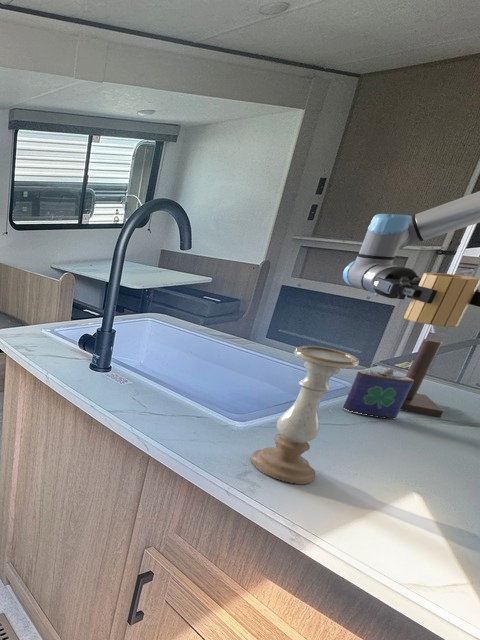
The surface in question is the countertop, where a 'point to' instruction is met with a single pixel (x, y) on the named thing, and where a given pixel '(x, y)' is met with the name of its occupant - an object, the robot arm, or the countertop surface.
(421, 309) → the wooden container
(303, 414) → the candle holder
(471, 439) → the countertop surface
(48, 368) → the countertop surface
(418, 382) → the stand
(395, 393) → the flask
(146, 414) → the countertop surface
